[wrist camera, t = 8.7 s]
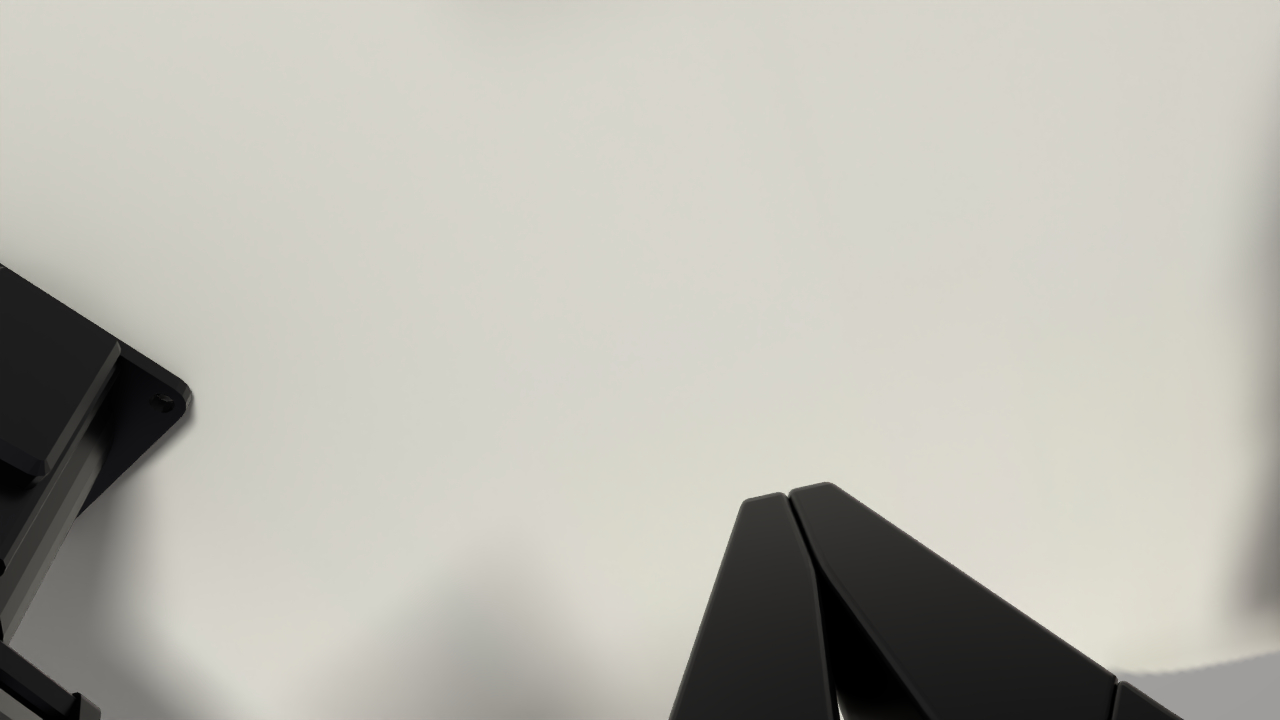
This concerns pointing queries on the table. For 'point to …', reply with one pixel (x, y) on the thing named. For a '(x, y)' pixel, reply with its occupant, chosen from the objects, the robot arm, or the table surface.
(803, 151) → the table surface
